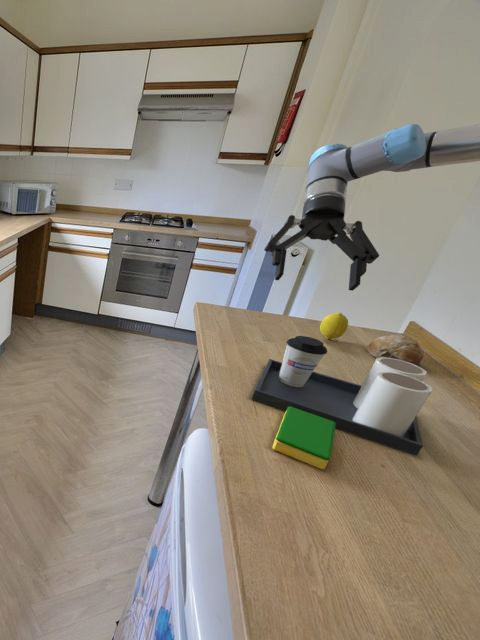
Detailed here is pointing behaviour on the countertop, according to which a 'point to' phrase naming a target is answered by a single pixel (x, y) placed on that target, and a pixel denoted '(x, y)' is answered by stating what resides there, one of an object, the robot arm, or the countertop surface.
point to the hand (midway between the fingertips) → (315, 282)
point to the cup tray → (329, 405)
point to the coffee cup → (300, 360)
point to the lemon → (334, 326)
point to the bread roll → (397, 348)
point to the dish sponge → (305, 437)
